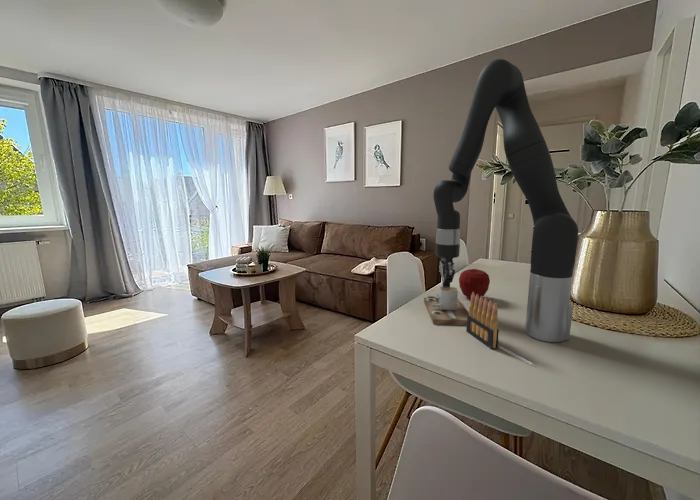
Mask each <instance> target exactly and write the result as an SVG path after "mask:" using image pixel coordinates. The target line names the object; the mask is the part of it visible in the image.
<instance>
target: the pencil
mask: <svg viewBox="0 0 700 500" xmlns="http://www.w3.org/2000/svg"><path fill="white" fill-rule="evenodd" d="M497 349H499V350H502V351H504V352H505V353H506V354H507V353H508V354H509V355H511V356H512V357H514V358H516V359H518V360H520V361H522V362H524V363H525V364H527V365H529V366H531V367H536V364H535V363H533V362H531V361H530V360H527V359H526V358H524V357H523V356H521V355H518V354H517V353H514V352H513V351H511V350H510V349H508V348H506V347H504V346H501V345H499V344H498V348H497Z"/></svg>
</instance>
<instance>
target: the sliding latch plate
mask: <svg viewBox="0 0 700 500" xmlns="http://www.w3.org/2000/svg"><path fill="white" fill-rule="evenodd" d="M423 303H424V305H425V307H426V310H427V313H428V314H429V318H430V320H431V323H432V324H433V325H447V326H449V325H453V326H458V325H459V326H467V317H468V315H469V310H468V309H466V308H465V306H464V304H463V303H461V301H460V300H459V299H458V297H457V310H441V309H440V307H432V304H439V293H438V294H433V295H427V297H423Z"/></svg>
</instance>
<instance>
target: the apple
mask: <svg viewBox="0 0 700 500" xmlns="http://www.w3.org/2000/svg"><path fill="white" fill-rule="evenodd" d="M459 275H460V276H459V278H458V284H459V288H460V291H461V292H462V293H461V294H462V295H463V296H464V297H465V298H467V299H470V300H471V295H472V292H474V294H475V297H476V295H477V294H478V295H479V300H480V297H481V296H482V297H483V298H484V296H485V295H486V293H487V292H488V291H489V287H490V283H491V279H490V275H489V274H488V273H487V272H486V271H484V270H481V269H476V268H471V269H466V270H464V271H462V272H461V273H460V274H459Z"/></svg>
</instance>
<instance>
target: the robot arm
mask: <svg viewBox="0 0 700 500" xmlns="http://www.w3.org/2000/svg"><path fill="white" fill-rule="evenodd" d="M494 110H496V113H497V114H498V116H499V119H500V121H501V125H502V132H503V133H502V134H503V135H502V136H503V137H502V138H503V140H502V141H503V148H504V149H503V150H504V154H505V158H506V160H507V163H508V165H509V168H510V171H511V174H512V176H513V178H514V179H515V182H516V184H517V185H518V187H519V189H520V190H521V193H522V194H523V195H524V197H525V199H526V201H527V203H528V206H529V209H530V213H531V217H532V220H533V226H534V227H533V230H532V241H531V242H532V243H531V253H530V255H531V256H530V269H529V270H530V271H529V283H528V295H527V305H526V306H527V307H526V315H525V317H526V318H525V327H524V332H525V333H526V335H528V336H529V337H531V338H534V339H536V340H539V341H543V342H547V343H548V342H549V343H561V342H564V341H570V336H571V327H572V319H573V318H572V317H573V311H574V306H573V305H572V303H570V302H571V291H572V284H573V283H572V281H573V275H574V267H575V263H576V255H577V248H578V247H577V246H578V241H579V227H578V224H577V223H576V221H575V219H573V217H572V216H571V214H570V212H569V210H568V208H567V207H566V204H565V203H564V201H563V198H562V196H561V194H560V190H559V188H558V187H559V186H558V181H557V178H556V171H555V167H554V163H553V159H552V156H551V153H550V151H549V148H548V144H547V142H546V139H545V137H544V135H543V133H542V130H541V128H540V126H539V123H538V122H537V119H536V118H535V115H534V113H533V111H532V109H531V107H530V103H529V99H528V95H527V91H526V87H525V82H524V76H523V74H522V72H521V70H520V69H519V67H518V66H516V65H514V64H513V63H511V62H510V61H508V60H506V59H503V58H497V59H494V60H492V61H490V62H488V63H487V64H486V65H485V66H484V67H483V69H482V70H481V71H480V73H479V76H478V78H477V82H476V83H475V88H474V92H473V96H472V100H471V103H470V108H469V110H468V113H467V117H466V121H465V124H464V127H463V130H462V132H461V136H460V137H459V141H458V143H457V146H456V148H455V150H454V152H453V155H452V157H451V159H450V161H449V164H448V170H449V171H450V172H451V173H452V175H451V180H449V179H448V180H440V181H439V182H437V183H436V185H435V187H434V189H433V203H434V207H435V211H436V212H435V213H436V215H437V221H436V222H437V223H436V224H437V225H436V234H435V235H436V237H435V256H436V257H438V258H441V260H440V261H439V270H440V278H441V281H442V285H441V287H451V283H453V280H454V277H455V273H456V270H455V269H454V268H455V262H454V260H453V259H454V258H455V259H456V258H458V257H460V250H461V249H460V246H461V245H460V243H461V229H460V228H461V215H460V212H459V211H458V210H455V207H454V204H455V203H458V202H460V201H462V200H463V199H464V197H465V196H466V194H467V192H468V189H469V185H470V181H471V177H472V176H471V175H472V171H473V170H474V168H475V165H476V163H477V161H478V160H479V157H480V154H481V152H482V150H483V145H484V142H485V136H486V132H487V128H488V124H489V121H490V119H491V116H492V113H493V112H494Z"/></svg>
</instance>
